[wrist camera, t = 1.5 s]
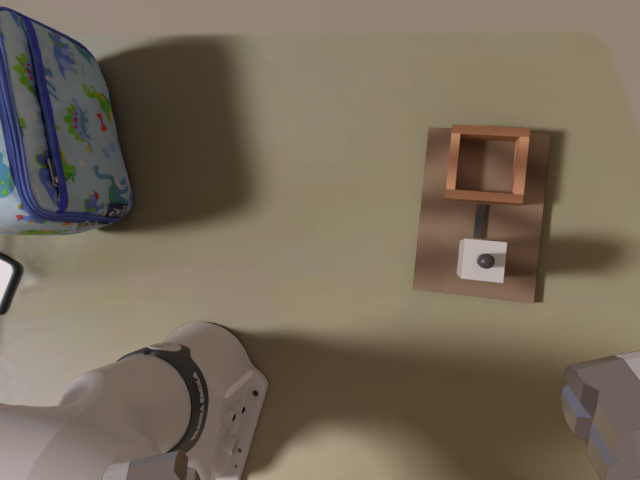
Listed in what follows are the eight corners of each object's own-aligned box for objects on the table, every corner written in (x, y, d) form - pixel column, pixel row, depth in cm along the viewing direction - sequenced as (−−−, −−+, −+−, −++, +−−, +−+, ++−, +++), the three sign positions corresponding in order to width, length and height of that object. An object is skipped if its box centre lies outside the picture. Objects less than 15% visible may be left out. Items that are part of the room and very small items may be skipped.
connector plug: (491, 277, 60) (507, 285, 47) (456, 273, 61) (462, 280, 48) (494, 243, 60) (511, 241, 47) (459, 240, 61) (466, 237, 48)
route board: (532, 302, 60) (538, 306, 56) (413, 288, 63) (411, 291, 59) (549, 135, 60) (556, 127, 56) (429, 129, 63) (428, 121, 59)
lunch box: (146, 227, 72) (31, 217, 51) (82, 243, 74) (-53, 240, 54) (113, 52, 74) (-11, -24, 53) (51, 73, 76) (-90, 9, 56)
